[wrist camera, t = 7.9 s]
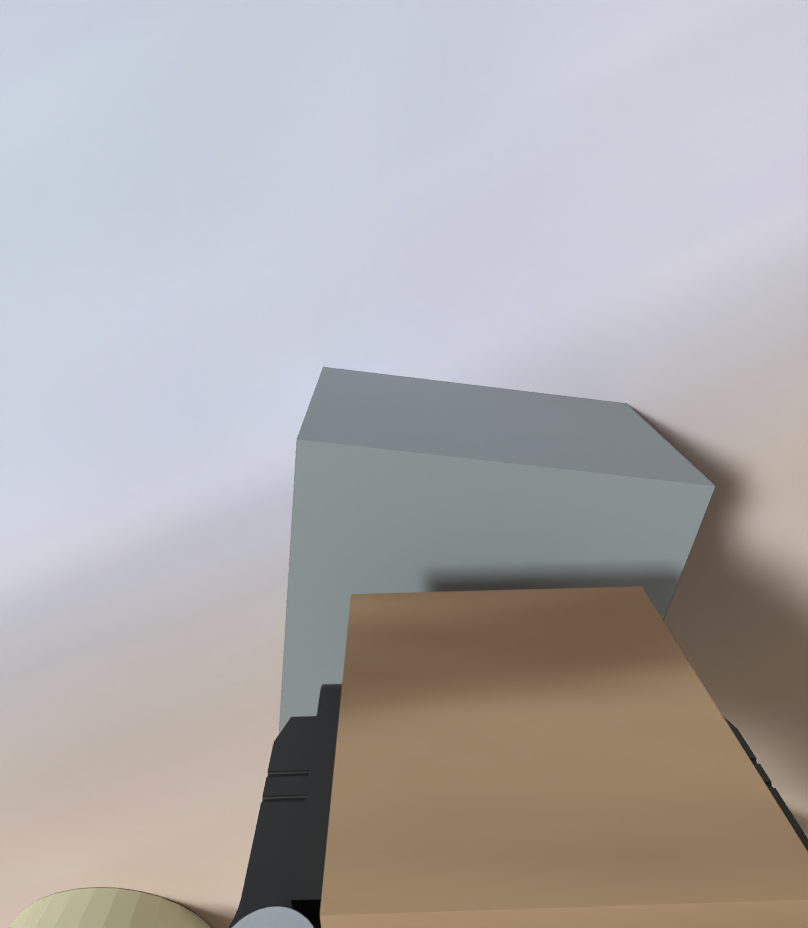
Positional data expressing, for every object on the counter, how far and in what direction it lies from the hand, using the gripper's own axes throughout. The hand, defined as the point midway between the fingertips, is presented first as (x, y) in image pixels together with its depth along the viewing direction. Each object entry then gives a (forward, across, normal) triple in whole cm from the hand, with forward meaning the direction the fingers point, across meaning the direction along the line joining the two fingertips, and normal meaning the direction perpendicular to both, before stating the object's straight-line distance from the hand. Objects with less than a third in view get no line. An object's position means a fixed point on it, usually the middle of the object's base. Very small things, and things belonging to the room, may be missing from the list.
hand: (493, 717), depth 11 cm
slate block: (+7, 0, 0) cm, 7 cm away
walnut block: (+1, 0, 0) cm, 1 cm away
